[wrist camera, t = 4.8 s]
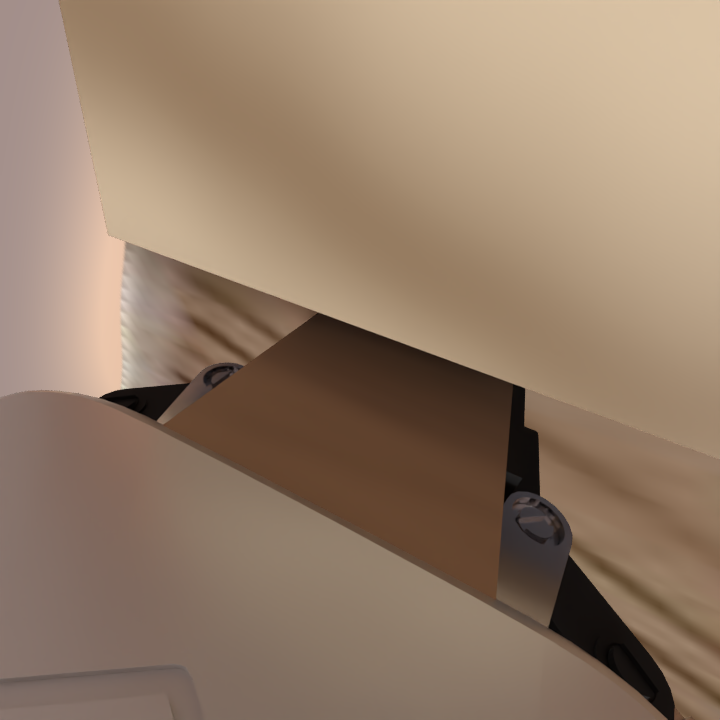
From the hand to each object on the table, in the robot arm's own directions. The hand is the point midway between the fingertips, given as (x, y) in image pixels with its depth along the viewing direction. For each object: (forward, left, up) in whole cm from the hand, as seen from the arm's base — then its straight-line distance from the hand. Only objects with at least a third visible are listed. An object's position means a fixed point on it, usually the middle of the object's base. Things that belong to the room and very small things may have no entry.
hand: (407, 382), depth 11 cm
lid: (-13, 0, +4) cm, 14 cm away
